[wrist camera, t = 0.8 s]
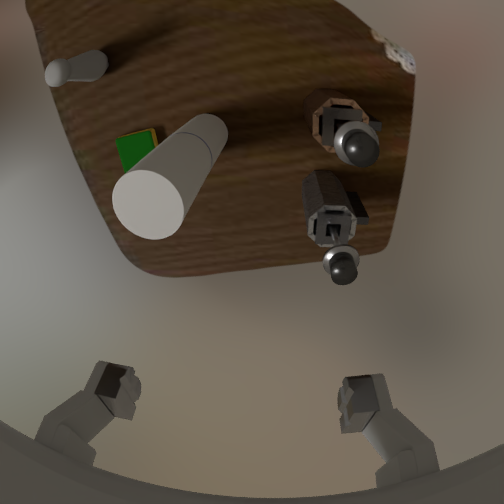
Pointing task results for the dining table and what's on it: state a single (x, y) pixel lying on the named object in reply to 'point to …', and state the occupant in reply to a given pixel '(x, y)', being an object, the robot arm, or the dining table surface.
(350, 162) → the copper press plunger
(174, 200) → the cylindrical container
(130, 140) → the dish sponge
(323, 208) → the steel press carafe
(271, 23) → the dining table surface
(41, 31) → the dining table surface
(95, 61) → the salt shaker
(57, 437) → the robot arm
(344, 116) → the copper press carafe
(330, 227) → the steel press plunger
